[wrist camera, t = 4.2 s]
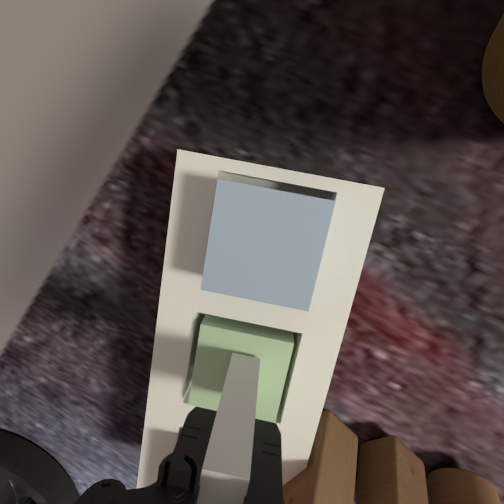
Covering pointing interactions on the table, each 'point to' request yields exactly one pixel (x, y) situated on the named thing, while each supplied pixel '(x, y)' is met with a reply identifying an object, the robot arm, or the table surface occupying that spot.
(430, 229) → the table surface
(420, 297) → the table surface
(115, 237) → the table surface
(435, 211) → the table surface
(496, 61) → the plant pot
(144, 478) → the key console
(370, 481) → the wooden block set
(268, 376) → the sage key
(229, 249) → the blue key
